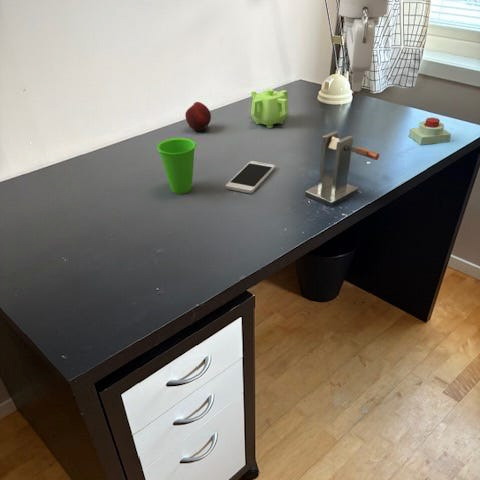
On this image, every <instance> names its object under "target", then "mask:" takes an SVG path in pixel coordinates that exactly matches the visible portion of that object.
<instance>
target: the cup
mask: <svg viewBox="0 0 480 480" xmlns="http://www.w3.org/2000/svg"><path fill="white" fill-rule="evenodd" d="M196 147H197V143H196V142H195V141H194V140H193V139H191V138H186V137H173V138H166V139H164V140H162V141H161V142H159V143H158V144H157V146H156V149H157V151H158V152H159V154H160V158H161V161H162V165H163V168H164V172H165V175H166V178H167V181H168V184H169V188H170V191H172V193H174V194H176V195H177V194H178V195H180V194H181V195H182V194H188V193H189V192H190V191H191V190H192V188H193V179H194V178H193V176H194V163H195V162H194V161H195V149H196Z"/></svg>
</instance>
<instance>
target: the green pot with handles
mask: <svg viewBox="0 0 480 480" xmlns="http://www.w3.org/2000/svg"><path fill="white" fill-rule="evenodd" d="M250 94H251V98H252V100H251V107H250V115H251V118H252V120H253V121H254V122H255V124H256V125H266V128H267V129H272V128H273V127H274V124H278V125H282V124H284V121H285V120H286V119H287V117H288V115H289V113H290V110H289V98H288V96H289V95H288V90H285V89H282V90H280V91H276V90H274V89H273V88H267V89H266V90H265V91H261V92H259V93H257V92H256V91H251V92H250Z"/></svg>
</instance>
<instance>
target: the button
mask: <svg viewBox="0 0 480 480" xmlns="http://www.w3.org/2000/svg"><path fill="white" fill-rule="evenodd" d="M425 121H426V123H425V126H427V127H432V128H435V127H438V126H439V122H440V121H441V120H440V118H437V117H427V118H426V119H425ZM440 123H441V122H440Z"/></svg>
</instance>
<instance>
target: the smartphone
mask: <svg viewBox="0 0 480 480" xmlns="http://www.w3.org/2000/svg"><path fill="white" fill-rule="evenodd" d="M275 169H276V165H275V164H273V163H265V162H260V161H255V160H254V161H253V160H250V161H249V162H248V163H247V164H246V165H245V166H244V167H243V168H242V169H240V170H239V171H238V173H236V175H234V176H233V177H232V178H231V179H230V180H229V181H228V182H227V183H226V185H225V189H226V190H230V191H231V190H232V191H235V192H242V193H246V194H253V193H254V192H255V191H256V190H257V188H259V187H260V185H261V184H262V183H263V182H264V181H265V180H266V179H267V178H268V177H269V176H270V175H271V173H272V172H274V170H275Z"/></svg>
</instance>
